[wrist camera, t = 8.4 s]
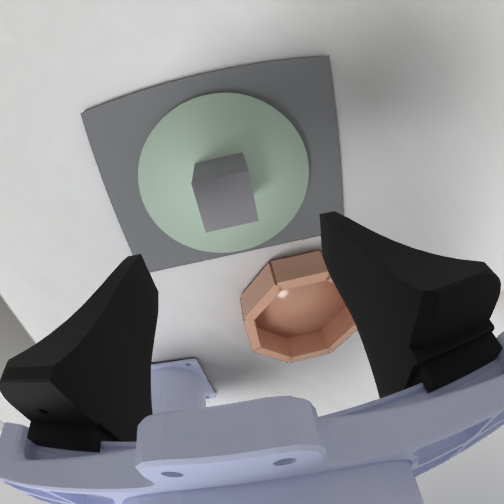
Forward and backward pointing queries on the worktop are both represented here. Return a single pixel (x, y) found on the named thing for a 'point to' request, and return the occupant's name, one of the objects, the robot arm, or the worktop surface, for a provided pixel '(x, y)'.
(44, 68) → the worktop surface
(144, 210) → the mat
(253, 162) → the lid
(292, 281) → the bowl
